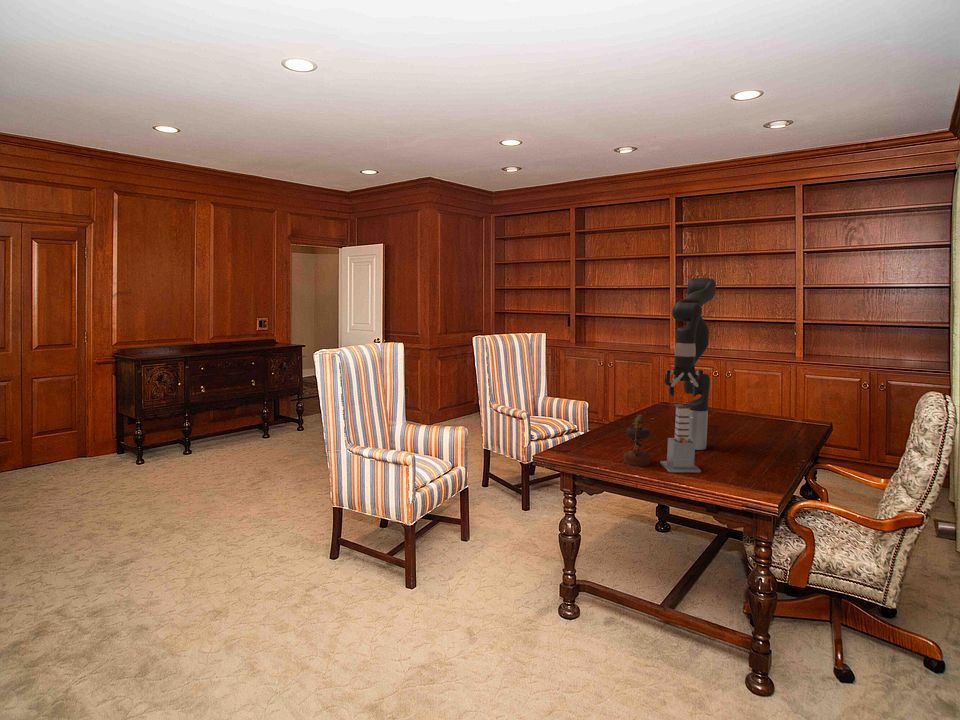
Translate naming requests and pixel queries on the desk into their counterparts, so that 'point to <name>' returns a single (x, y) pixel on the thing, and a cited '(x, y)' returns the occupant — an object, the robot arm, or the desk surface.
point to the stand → (680, 456)
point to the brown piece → (637, 444)
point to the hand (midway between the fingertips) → (683, 396)
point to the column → (682, 422)
